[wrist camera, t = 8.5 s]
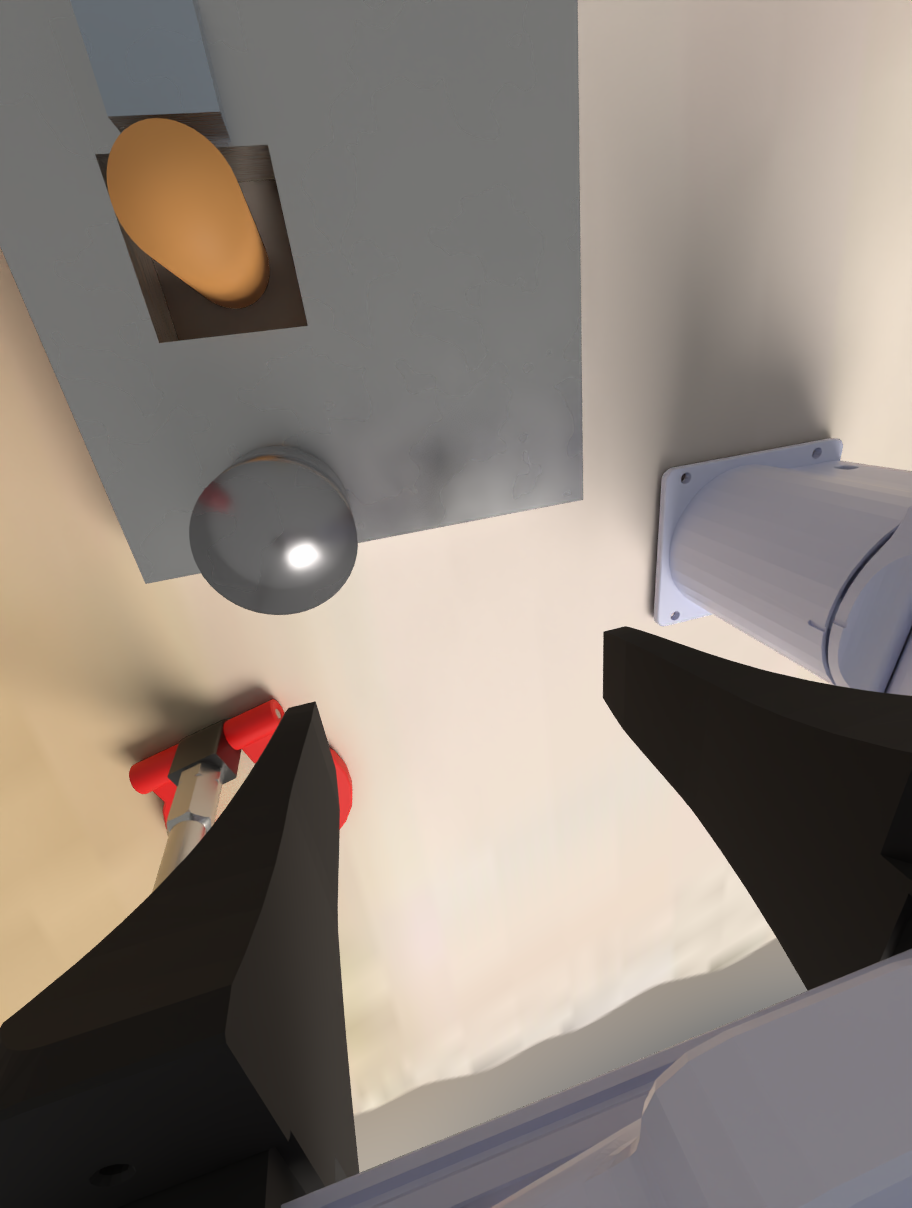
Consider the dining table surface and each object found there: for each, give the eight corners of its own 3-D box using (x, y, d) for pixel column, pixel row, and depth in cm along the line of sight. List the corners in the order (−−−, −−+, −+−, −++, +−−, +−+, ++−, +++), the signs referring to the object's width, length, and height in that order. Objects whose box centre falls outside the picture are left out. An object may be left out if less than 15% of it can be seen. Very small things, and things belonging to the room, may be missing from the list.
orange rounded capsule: (257, 209, 15) (224, 117, 10) (278, 305, 17) (257, 268, 11) (168, 212, 15) (84, 118, 10) (195, 311, 16) (134, 276, 11)
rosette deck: (540, 42, 15) (655, -136, 10) (556, 503, 22) (632, 542, 17) (-37, 56, 13) (-290, -175, 8) (173, 577, 19) (116, 651, 14)
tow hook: (377, 803, 27) (290, 681, 22) (424, 1121, 16) (268, 1010, 11) (234, 873, 26) (114, 763, 22) (178, 1251, 15) (-93, 1192, 11)
